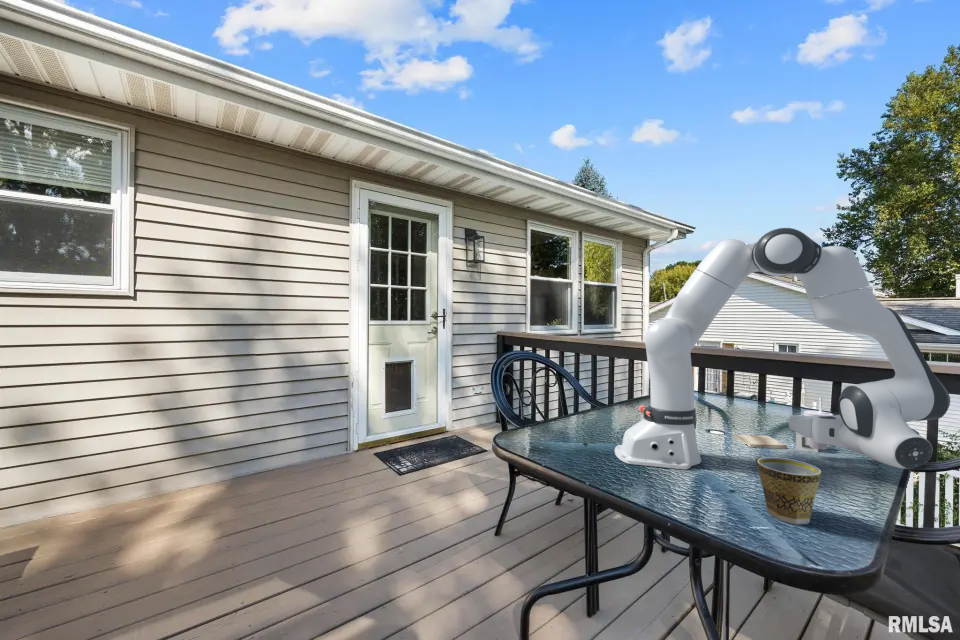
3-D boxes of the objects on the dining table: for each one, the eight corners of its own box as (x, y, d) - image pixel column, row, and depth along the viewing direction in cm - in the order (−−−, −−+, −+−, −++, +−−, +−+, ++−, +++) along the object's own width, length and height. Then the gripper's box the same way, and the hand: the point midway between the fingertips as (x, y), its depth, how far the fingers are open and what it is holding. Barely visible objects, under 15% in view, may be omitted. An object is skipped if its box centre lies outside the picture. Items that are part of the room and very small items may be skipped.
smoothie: (839, 452, 107) (839, 400, 107) (811, 450, 108) (812, 398, 108) (824, 444, 113) (824, 395, 113) (798, 443, 114) (798, 394, 114)
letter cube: (818, 452, 115) (817, 435, 115) (796, 449, 118) (795, 432, 118) (817, 448, 119) (817, 431, 119) (796, 445, 122) (795, 428, 123)
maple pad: (750, 447, 120) (750, 444, 120) (734, 437, 130) (734, 434, 130) (786, 448, 119) (786, 445, 119) (767, 438, 129) (767, 435, 129)
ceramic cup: (836, 528, 74) (835, 474, 74) (786, 530, 73) (785, 476, 73) (778, 497, 87) (778, 451, 87) (735, 499, 86) (734, 452, 86)
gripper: (903, 421, 96) (857, 408, 110) (809, 417, 99) (776, 405, 113) (903, 447, 96) (857, 431, 110) (809, 443, 99) (776, 428, 113)
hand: (816, 418), depth 111 cm, fingers closed on smoothie, 6 cm apart
